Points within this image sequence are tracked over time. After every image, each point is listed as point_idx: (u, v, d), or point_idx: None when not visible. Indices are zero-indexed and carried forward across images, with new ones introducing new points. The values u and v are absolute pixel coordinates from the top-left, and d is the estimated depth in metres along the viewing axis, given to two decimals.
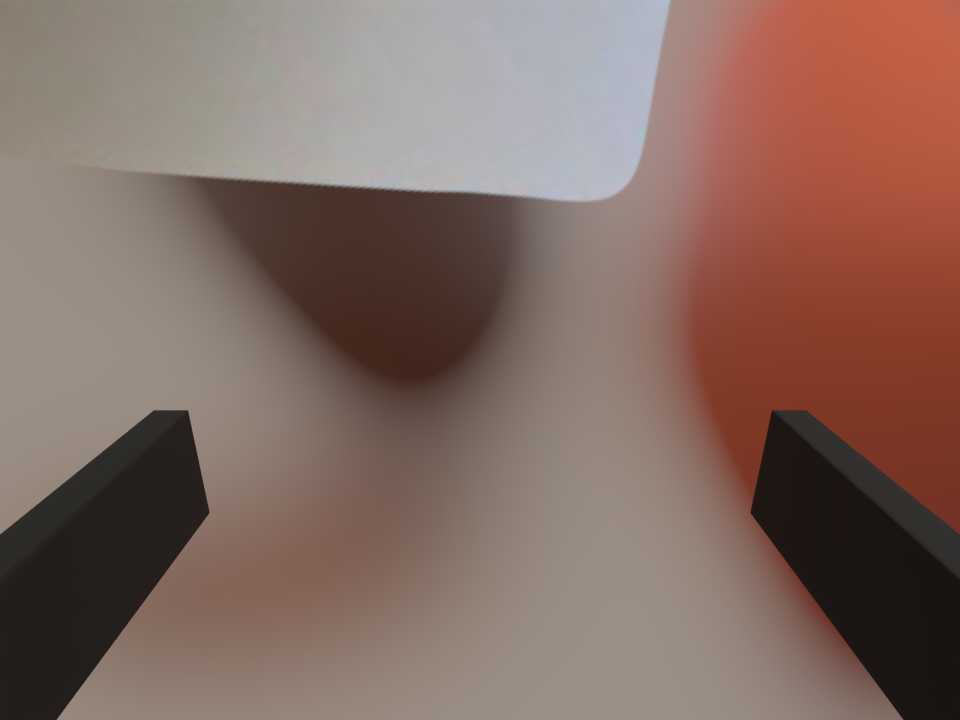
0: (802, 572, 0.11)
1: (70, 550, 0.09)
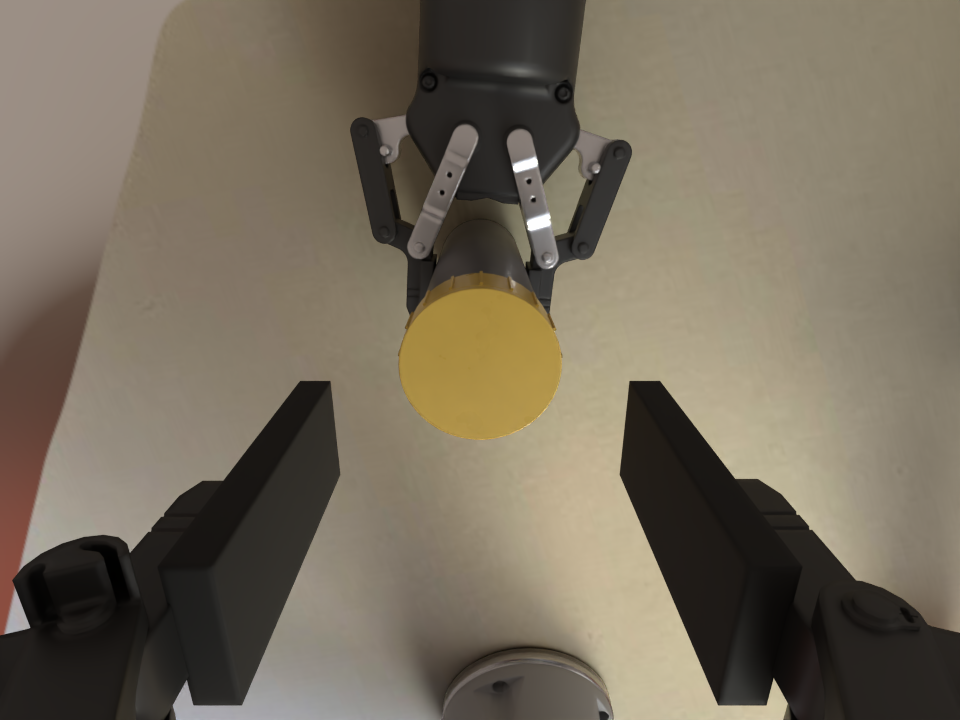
0: (643, 520, 0.13)
1: (279, 490, 0.10)
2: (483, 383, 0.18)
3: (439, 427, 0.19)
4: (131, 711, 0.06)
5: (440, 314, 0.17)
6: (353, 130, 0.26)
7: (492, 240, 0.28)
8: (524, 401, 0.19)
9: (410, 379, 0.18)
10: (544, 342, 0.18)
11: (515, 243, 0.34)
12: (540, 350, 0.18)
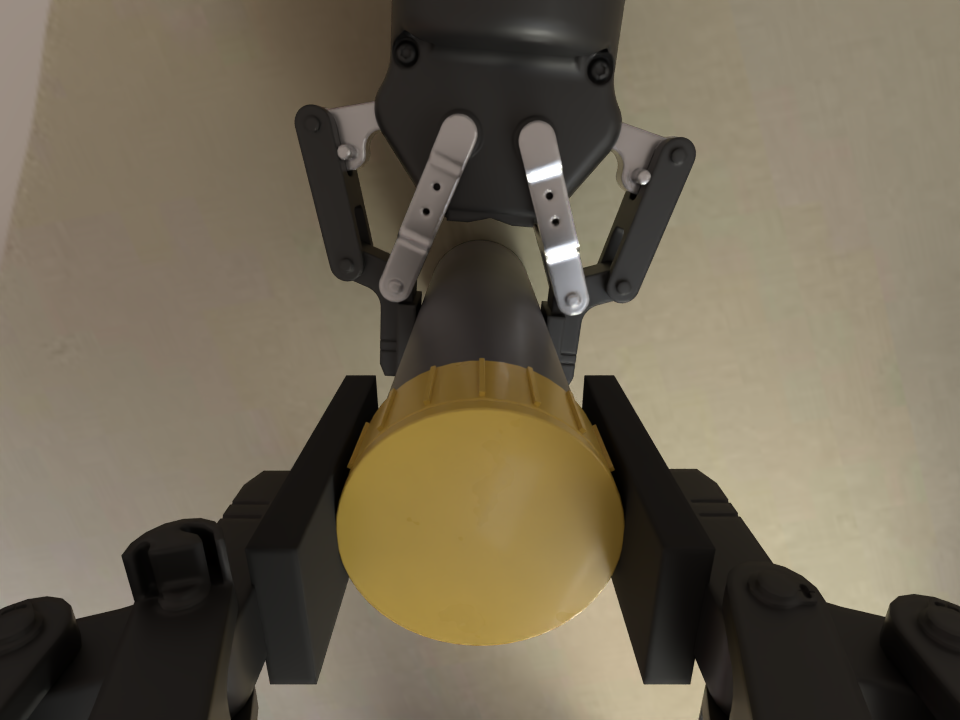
0: None
1: (341, 479, 0.11)
2: (486, 562, 0.10)
3: (410, 628, 0.11)
4: (224, 691, 0.07)
5: (407, 452, 0.10)
6: (299, 123, 0.18)
7: (497, 278, 0.20)
8: (557, 589, 0.11)
9: (357, 556, 0.10)
10: (595, 497, 0.10)
11: (526, 272, 0.26)
12: (588, 510, 0.10)
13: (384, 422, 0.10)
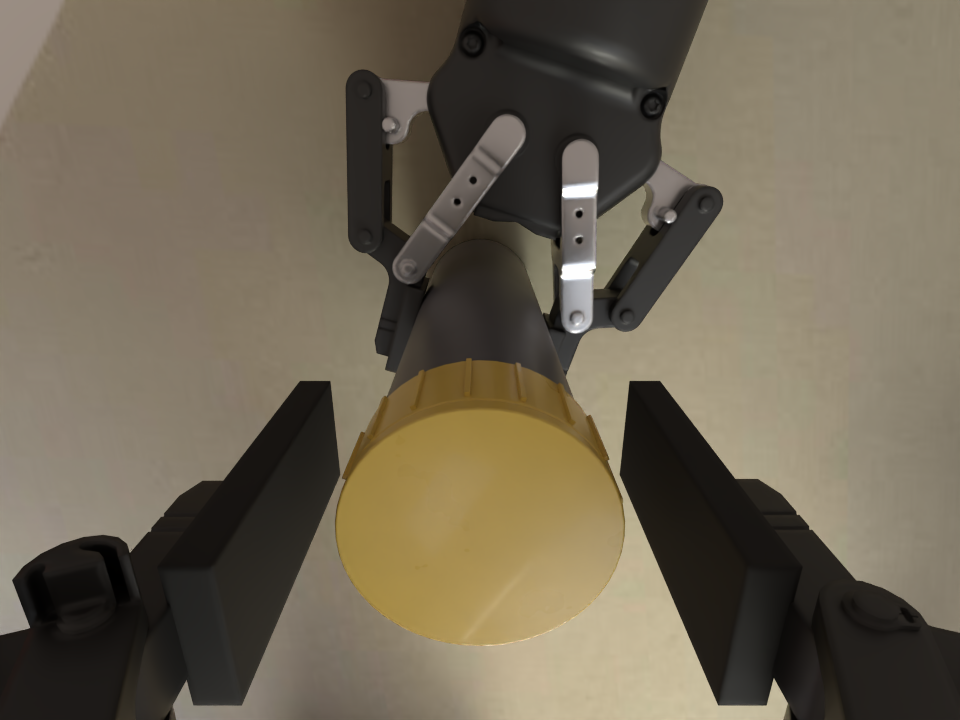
0: (643, 520, 0.13)
1: (278, 490, 0.10)
2: (505, 551, 0.10)
3: (513, 640, 0.11)
4: (131, 711, 0.06)
5: (359, 525, 0.10)
6: (350, 85, 0.18)
7: (511, 281, 0.20)
8: (583, 525, 0.10)
9: (416, 620, 0.11)
10: (522, 436, 0.09)
11: None
12: (529, 451, 0.10)
13: None
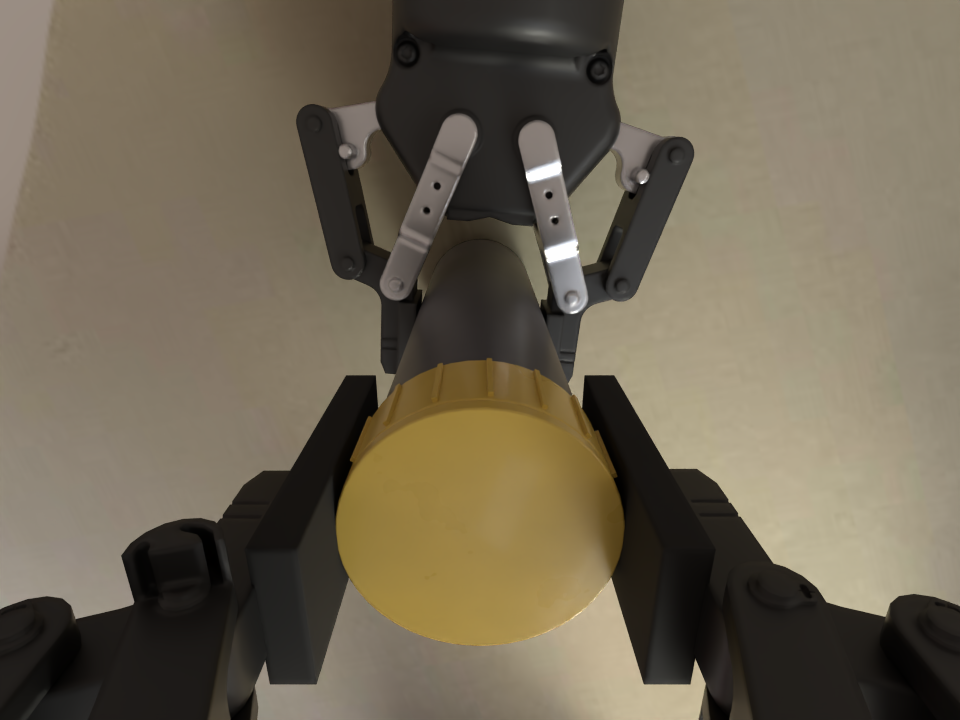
0: None
1: (341, 479, 0.11)
2: (508, 546, 0.10)
3: (540, 632, 0.11)
4: (223, 691, 0.07)
5: (361, 546, 0.10)
6: (300, 122, 0.19)
7: (497, 276, 0.20)
8: (578, 507, 0.10)
9: (439, 629, 0.11)
10: (494, 431, 0.09)
11: (525, 271, 0.26)
12: (504, 443, 0.09)
13: None
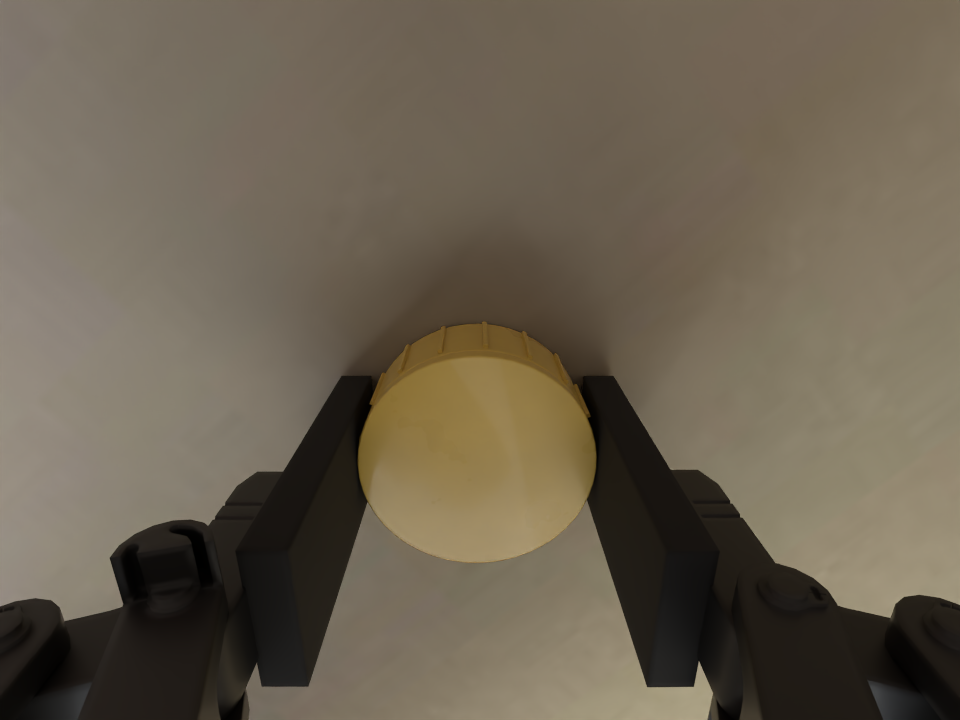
0: (594, 511, 0.13)
1: (334, 480, 0.11)
2: (501, 474, 0.12)
3: (527, 550, 0.13)
4: (214, 693, 0.07)
5: (378, 475, 0.12)
6: None
7: None
8: (558, 440, 0.12)
9: (443, 548, 0.13)
10: (489, 375, 0.12)
11: None
12: (497, 385, 0.12)
13: None
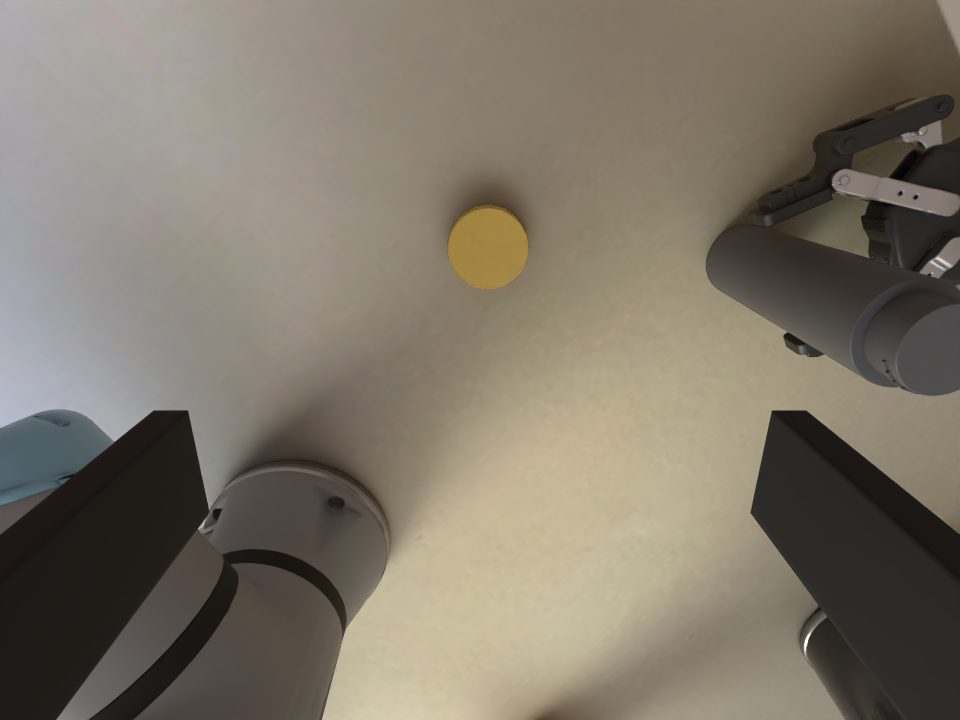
0: (802, 572, 0.11)
1: (70, 550, 0.09)
2: (496, 252, 0.37)
3: (505, 283, 0.38)
4: None
5: (455, 252, 0.37)
6: (943, 98, 0.29)
7: None
8: (515, 239, 0.37)
9: (476, 282, 0.38)
10: (492, 215, 0.36)
11: None
12: (494, 218, 0.36)
13: (449, 255, 0.38)
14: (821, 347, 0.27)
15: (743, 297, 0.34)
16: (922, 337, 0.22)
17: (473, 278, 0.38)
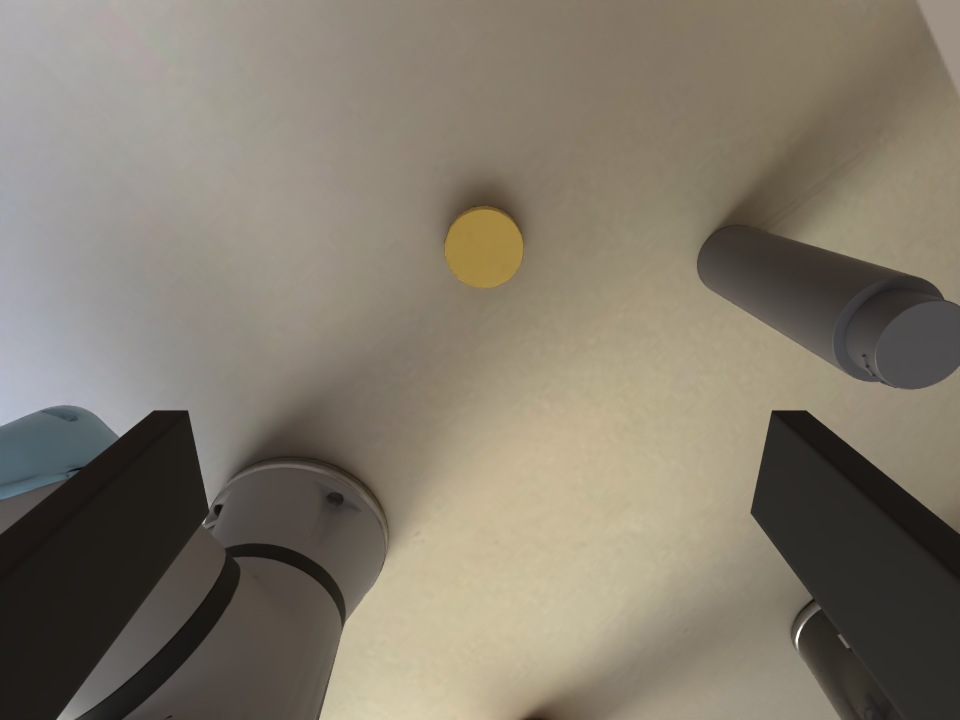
0: (802, 572, 0.11)
1: (70, 550, 0.09)
2: (491, 252, 0.38)
3: (501, 282, 0.38)
4: None
5: (451, 252, 0.38)
6: None
7: None
8: (510, 239, 0.37)
9: (472, 281, 0.38)
10: (488, 216, 0.37)
11: None
12: (490, 219, 0.37)
13: (445, 255, 0.38)
14: (806, 343, 0.28)
15: (732, 296, 0.35)
16: (900, 332, 0.23)
17: (469, 278, 0.38)
